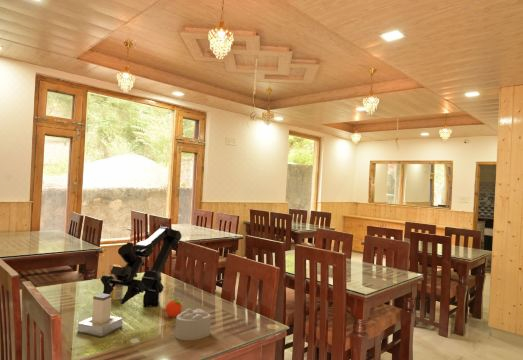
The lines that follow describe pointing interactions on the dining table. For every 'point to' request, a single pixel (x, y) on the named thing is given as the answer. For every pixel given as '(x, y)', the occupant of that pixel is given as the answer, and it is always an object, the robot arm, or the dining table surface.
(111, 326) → the socket
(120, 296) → the candy box
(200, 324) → the lumpy-topped squat cylinder
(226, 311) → the dining table surface
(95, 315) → the plug
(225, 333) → the dining table surface
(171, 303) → the tomato
